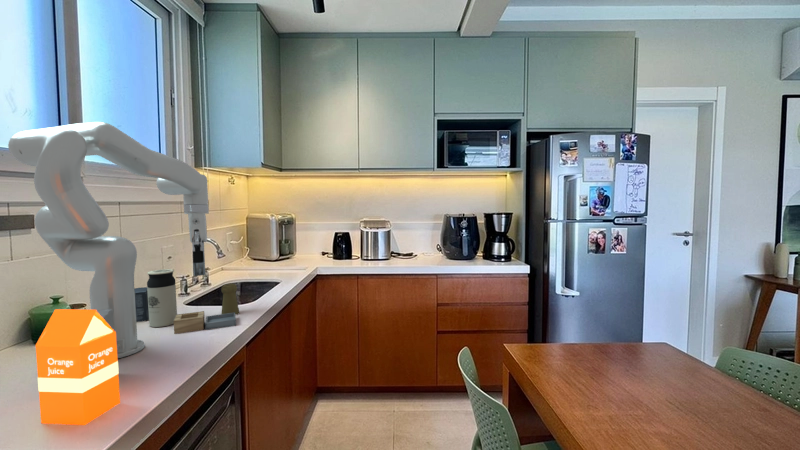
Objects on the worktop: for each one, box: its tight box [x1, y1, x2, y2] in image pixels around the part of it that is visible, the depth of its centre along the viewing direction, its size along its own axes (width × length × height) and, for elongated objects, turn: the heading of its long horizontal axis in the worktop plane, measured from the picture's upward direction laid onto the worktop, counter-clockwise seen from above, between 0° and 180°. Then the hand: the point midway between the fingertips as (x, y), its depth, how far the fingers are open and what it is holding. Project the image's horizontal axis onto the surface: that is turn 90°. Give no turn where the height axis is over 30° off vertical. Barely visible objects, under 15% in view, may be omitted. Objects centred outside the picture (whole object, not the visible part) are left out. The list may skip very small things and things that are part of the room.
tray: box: [204, 313, 237, 331], centre depth 123 cm, size 9×9×2 cm
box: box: [134, 286, 149, 323], centre depth 130 cm, size 8×6×11 cm
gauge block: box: [173, 310, 206, 335], centre depth 119 cm, size 8×8×4 cm
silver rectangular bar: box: [191, 238, 206, 277], centre depth 129 cm, size 4×4×14 cm
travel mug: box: [146, 268, 178, 328], centre depth 124 cm, size 8×8×18 cm
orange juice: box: [34, 308, 121, 426], centre depth 70 cm, size 8×9×20 cm
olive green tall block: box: [220, 283, 240, 315], centre depth 134 cm, size 6×6×11 cm
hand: (198, 261), depth 129 cm, fingers closed on silver rectangular bar, 3 cm apart
